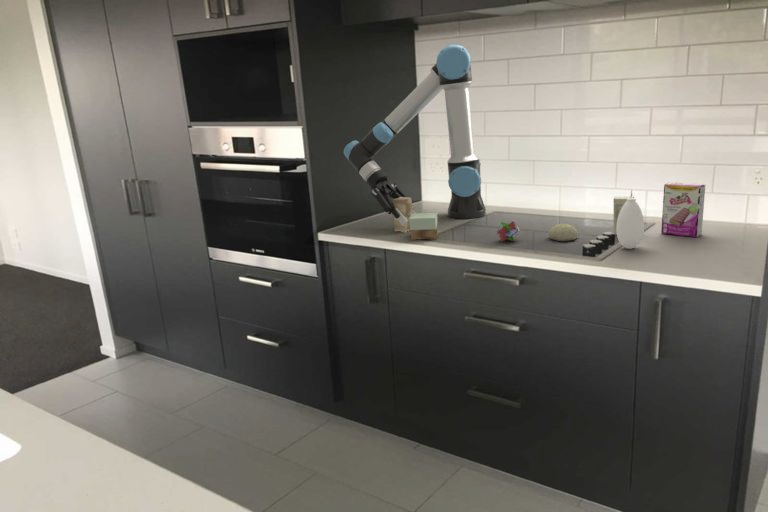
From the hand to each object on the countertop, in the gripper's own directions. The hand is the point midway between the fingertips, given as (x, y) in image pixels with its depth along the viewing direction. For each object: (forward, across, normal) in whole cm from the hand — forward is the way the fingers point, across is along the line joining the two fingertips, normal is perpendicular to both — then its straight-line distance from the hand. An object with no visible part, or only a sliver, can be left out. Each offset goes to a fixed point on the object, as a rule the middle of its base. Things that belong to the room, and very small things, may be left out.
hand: (411, 221), depth 230 cm
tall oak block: (0, 0, -5) cm, 5 cm away
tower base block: (+9, +5, +4) cm, 11 cm away
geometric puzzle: (+30, -1, +25) cm, 39 cm away
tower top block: (+6, +5, +6) cm, 10 cm away
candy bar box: (+63, -30, +58) cm, 91 cm away
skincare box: (+51, -24, +46) cm, 73 cm away
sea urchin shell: (+41, -11, +35) cm, 55 cm away
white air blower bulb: (+57, -8, +51) cm, 77 cm away
